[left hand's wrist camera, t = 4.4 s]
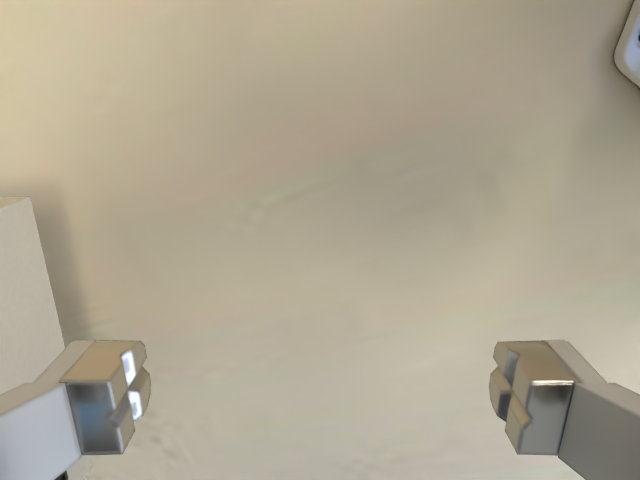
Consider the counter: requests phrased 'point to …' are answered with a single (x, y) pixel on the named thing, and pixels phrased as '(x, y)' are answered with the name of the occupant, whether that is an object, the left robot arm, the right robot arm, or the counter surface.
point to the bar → (27, 306)
